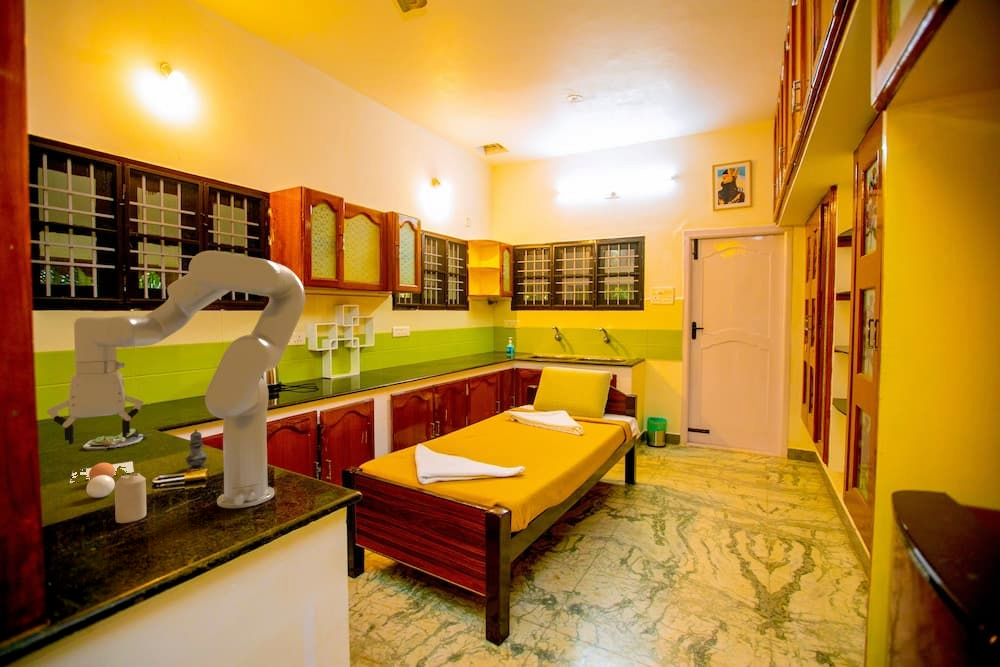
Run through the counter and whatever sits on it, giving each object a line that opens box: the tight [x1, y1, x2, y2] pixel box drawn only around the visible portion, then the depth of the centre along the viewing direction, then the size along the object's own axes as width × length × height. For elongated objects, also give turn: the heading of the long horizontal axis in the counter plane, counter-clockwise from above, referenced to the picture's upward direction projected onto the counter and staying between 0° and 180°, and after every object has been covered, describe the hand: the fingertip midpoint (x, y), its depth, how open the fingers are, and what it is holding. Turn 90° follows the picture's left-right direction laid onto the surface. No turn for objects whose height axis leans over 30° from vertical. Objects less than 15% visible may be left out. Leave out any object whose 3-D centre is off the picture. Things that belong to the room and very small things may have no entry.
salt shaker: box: [184, 429, 208, 471], centre depth 141 cm, size 6×6×12 cm
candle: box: [114, 472, 147, 524], centre depth 105 cm, size 6×6×10 cm
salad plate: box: [82, 427, 150, 451], centre depth 170 cm, size 19×18×5 cm
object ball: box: [89, 462, 115, 479], centre depth 129 cm, size 6×6×6 cm
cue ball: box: [85, 475, 116, 499], centre depth 118 cm, size 6×6×6 cm
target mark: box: [69, 460, 135, 484], centre depth 138 cm, size 14×14×1 cm
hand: (98, 439), depth 111 cm, fingers open, 9 cm apart
